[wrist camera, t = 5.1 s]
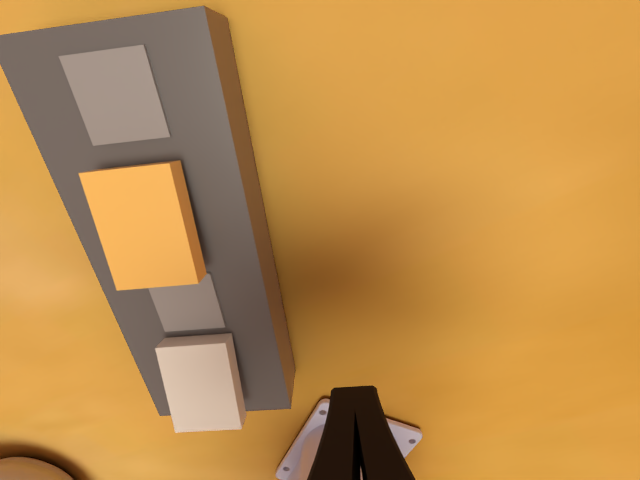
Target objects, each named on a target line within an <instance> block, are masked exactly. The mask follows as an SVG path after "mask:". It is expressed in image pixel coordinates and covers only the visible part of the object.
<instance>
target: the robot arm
mask: <svg viewBox="0 0 640 480" xmlns="http://www.w3.org/2000/svg"><path fill="white" fill-rule="evenodd" d="M421 439H422V432H421V430H420V429H418V428H415V427H412V426H409V425H406V424H403V423H400V422H397V421H394V420H391V419H388V418H386V417H385V415H384V412H383V409H382V406H381V403H380V400H379V397H378V393H377V389H376V388H375V387H374V386H358V387H341V388H334V389H332V390H331V396H330V399H322V400H320V401H319V403H318V405H317V406H316V408H315V409H314V411H313V412H312V414H311V416H310V417H309V419H308V420H307V422H306V424H305V425H304V427H303V428H302V430H301V432H300V433H299V435H298V436H297V438H296V439H295V441H294V443H293V444H292V446H291V447H290V449H289V451H288V452H287V454H286V455H285V457H284V459H283V460H282V462H281V463H280V465H279V467H278V468H277V470H276V477H277V478H278V479H281V480H415V478H414V476H413V474H412V472H411V471H410V469H409V467H408V465H407V463H406V461H405V459H404V458H405V457H406V456H407V455H408V454H409V452H410V451H411V450H412V449H413V448H414V447H415V446H416V444H417V443H418V442H419V441H420V440H421Z"/></svg>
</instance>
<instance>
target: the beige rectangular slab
mask: <svg viewBox="0 0 640 480" xmlns="http://www.w3.org/2000/svg"><path fill="white" fill-rule="evenodd" d="M155 350H156V354H157V359H158V363H159V367H160V371H161V375H162V379H163V384H164V388H165V392H166V396H167V400H168V404H169V409H170V413H171V417H172V421H173V425H174V429H175V433H176V432H195V431H215V430H234V429H242V427H243V424H244V421H245V418H246V410H245V404H244V399H243V393H242V388H241V382H240V377H239V371H238V366H237V360H236V355H235V349H234V344H233V338H232V333H225V334H211V335H197V336H183V337H170V338H164V339H163V340H162V341H161V342H160V343H159V344H158V345H157V347H156V348H155Z"/></svg>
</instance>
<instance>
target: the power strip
mask: <svg viewBox="0 0 640 480" xmlns="http://www.w3.org/2000/svg"><path fill="white" fill-rule="evenodd" d="M0 64H1V67H2V69H3V71H4V73H5V75H6V78H7V80H8V82H9V84H10V86H11V89H12V91H13V93H14V95H15V97H16V100H17V102H18V104H19V106H20V108H21V111H22V113H23V115H24V117H25V119H26V122H27V124H28V126H29V128H30V130H31V133H32V135H33V137H34V139H35V141H36V144H37V146H38V148H39V150H40V153H41V155H42V157H43V159H44V161H45V164H46V166H47V168H48V170H49V172H50V175H51V177H52V179H53V181H54V183H55V186H56V188H57V190H58V192H59V194H60V197H61V199H62V201H63V203H64V205H65V208H66V210H67V212H68V214H69V216H70V219H71V221H72V223H73V225H74V227H75V230H76V232H77V234H78V236H79V238H80V241H81V243H82V245H83V247H84V249H85V252H86V254H87V256H88V258H89V261H90V263H91V265H92V267H93V269H94V272H95V274H96V276H97V278H98V280H99V283H100V285H101V287H102V289H103V291H104V294H105V296H106V298H107V300H108V302H109V305H110V307H111V309H112V311H113V313H114V316H115V318H116V320H117V322H118V324H119V327H120V329H121V331H122V333H123V335H124V338H125V340H126V342H127V344H128V346H129V349H130V351H131V353H132V355H133V357H134V360H135V362H136V364H137V366H138V369H139V371H140V373H141V375H142V377H143V380H144V382H145V384H146V386H147V388H148V391H149V393H150V395H151V397H152V399H153V402H154V404H155V406H156V408H157V410H158V413H159V415H160V416H168V415H171V413H170V409H169V404H168V400H167V396H166V392H165V388H164V384H163V379H162V375H161V371H160V367H159V363H158V359H157V354H156V350H155V348H156V347H157V345H158V344H159V343H160V342H161V341H162V340H163V339H164V338H170V337H183V336H197V335H211V334H225V333H232V338H233V344H234V349H235V355H236V360H237V366H238V371H239V377H240V382H241V388H242V393H243V399H244V404H245V410H246V411H257V410H275V409H291V403H292V395H293V386H294V377H295V365H294V359H293V354H292V349H291V344H290V339H289V334H288V329H287V323H286V318H285V313H284V308H283V303H282V298H281V292H280V287H279V282H278V277H277V272H276V267H275V262H274V256H273V251H272V246H271V241H270V236H269V231H268V225H267V220H266V215H265V210H264V205H263V200H262V195H261V189H260V184H259V179H258V174H257V169H256V164H255V158H254V153H253V148H252V143H251V138H250V133H249V128H248V122H247V117H246V112H245V107H244V102H243V97H242V91H241V86H240V81H239V76H238V71H237V66H236V61H235V55H234V50H233V45H232V40H231V35H230V30H229V24H228V19H227V17H225V16H223V15H221V14H219V13H217V12H215V11H213V10H211V9H209V8H207V7H205V6H200V7H193V8H186V9H179V10H172V11H165V12H158V13H151V14H144V15H137V16H130V17H123V18H116V19H109V20H102V21H95V22H88V23H81V24H74V25H67V26H60V27H53V28H46V29H39V30H32V31H25V32H18V33H11V34H4V35H0ZM178 160H180V161H181V165H182V170H183V174H184V178H185V182H186V187H187V191H188V195H189V200H190V204H191V208H192V213H193V217H194V221H195V225H196V230H197V234H198V238H199V243H200V247H201V251H202V256H203V260H204V264H205V268H206V273H207V274H206V275H205V277H204V278H203V279H202V280H201V281H200V283H199V284H191V285H179V286H167V287H155V288H143V289H131V290H119V291H117V290H116V287H115V283H114V280H113V277H112V274H111V271H110V268H109V265H108V262H107V259H106V256H105V253H104V250H103V247H102V244H101V241H100V238H99V235H98V232H97V229H96V225H95V222H94V219H93V216H92V213H91V210H90V207H89V204H88V201H87V198H86V195H85V192H84V189H83V186H82V183H81V180H80V177H79V174H78V173H82V172H87V171H91V170H97V169H106V168H115V167H124V166H133V165H142V164H151V163H160V162H169V161H178Z"/></svg>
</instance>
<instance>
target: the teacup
mask: <svg viewBox="0 0 640 480" xmlns="http://www.w3.org/2000/svg"><path fill="white" fill-rule="evenodd" d="M0 480H74V479H73V478H72V477H71V476H70V475H68V474H67V473H66V472H64V471H63V470H61V469H60V468H58V467H56V466H53V465H51V464H49V463H47V462H44V461H41V460H37V459H33V458H27V457H9V458H4V459H0Z"/></svg>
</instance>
